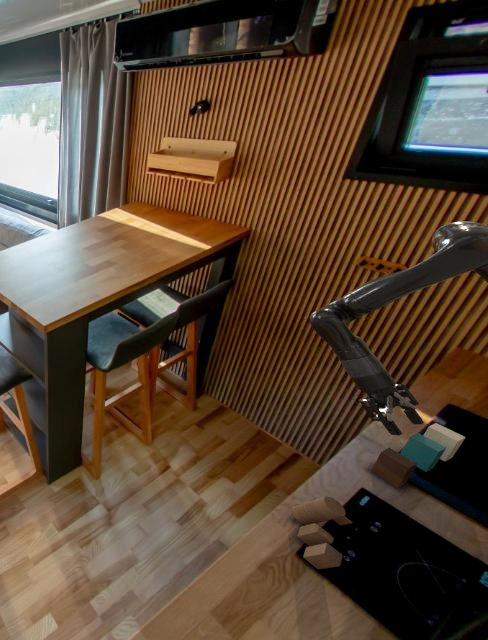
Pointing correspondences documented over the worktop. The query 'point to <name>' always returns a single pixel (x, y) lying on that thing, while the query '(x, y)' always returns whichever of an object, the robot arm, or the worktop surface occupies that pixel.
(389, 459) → the brown rectangular block
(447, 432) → the tile
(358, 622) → the worktop surface
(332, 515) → the wooden block set
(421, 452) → the tile
